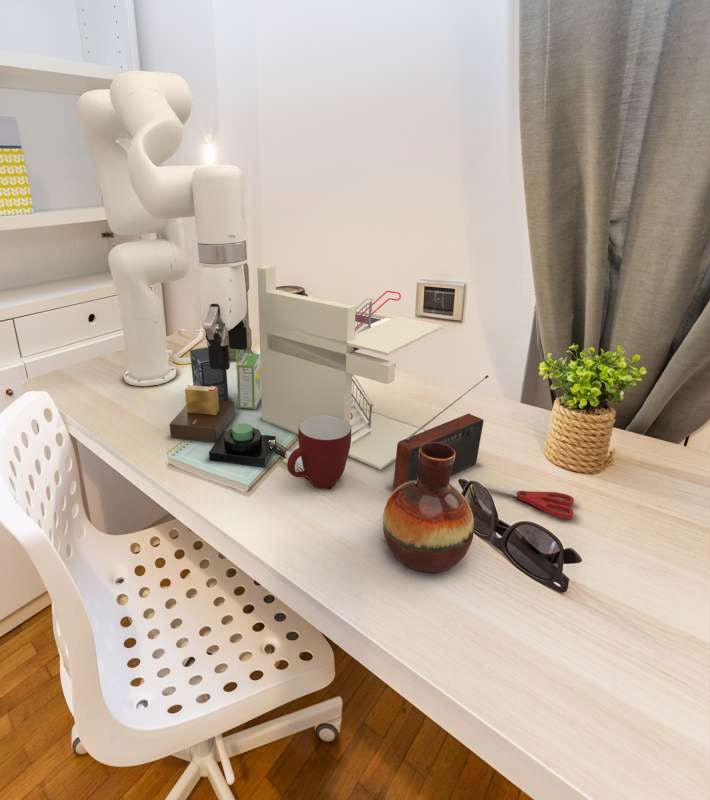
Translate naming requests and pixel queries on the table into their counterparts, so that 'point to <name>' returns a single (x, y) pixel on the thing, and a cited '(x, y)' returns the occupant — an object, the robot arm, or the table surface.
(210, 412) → the thumb turn
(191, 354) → the box
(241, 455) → the button block
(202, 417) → the plate
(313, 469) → the mug
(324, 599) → the table surface
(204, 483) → the table surface
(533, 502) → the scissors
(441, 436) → the radio
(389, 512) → the vase
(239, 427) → the release button
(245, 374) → the ink box
